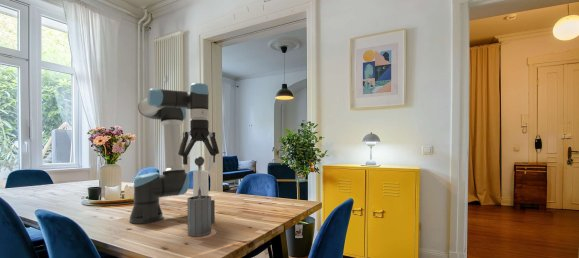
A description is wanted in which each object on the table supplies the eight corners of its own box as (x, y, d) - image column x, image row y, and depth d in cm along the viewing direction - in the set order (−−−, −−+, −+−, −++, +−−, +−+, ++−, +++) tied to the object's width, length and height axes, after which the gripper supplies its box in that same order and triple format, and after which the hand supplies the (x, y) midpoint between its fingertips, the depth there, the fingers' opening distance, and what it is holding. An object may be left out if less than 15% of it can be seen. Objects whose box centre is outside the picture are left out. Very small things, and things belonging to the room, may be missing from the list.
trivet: (176, 235, 120) (176, 233, 120) (206, 227, 130) (206, 226, 130) (190, 243, 110) (190, 241, 110) (222, 234, 120) (222, 233, 120)
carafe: (183, 233, 120) (183, 197, 121) (208, 227, 128) (208, 194, 129) (193, 238, 113) (193, 201, 114) (219, 232, 121) (219, 196, 122)
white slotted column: (204, 225, 134) (204, 172, 136) (190, 224, 136) (190, 171, 137) (211, 220, 141) (211, 170, 143) (198, 220, 143) (198, 170, 144)
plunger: (189, 201, 121) (189, 156, 122) (202, 199, 125) (202, 156, 126) (196, 203, 116) (196, 157, 117) (209, 201, 121) (209, 156, 122)
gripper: (176, 117, 112) (176, 174, 111) (227, 120, 127) (227, 169, 126) (169, 119, 117) (169, 173, 116) (218, 121, 133) (218, 168, 132)
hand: (199, 171), depth 121 cm, fingers open, 10 cm apart
